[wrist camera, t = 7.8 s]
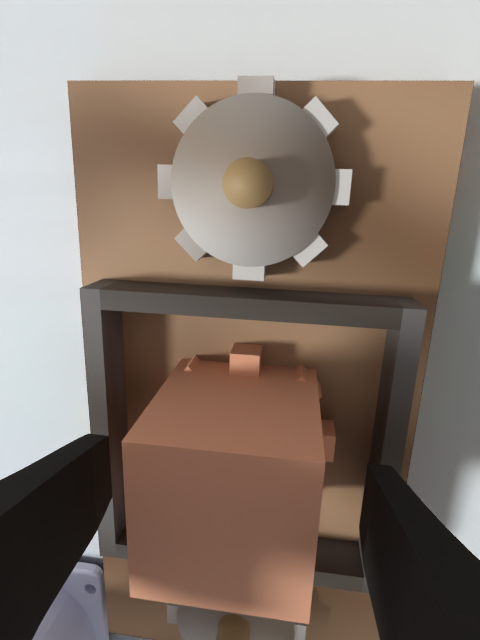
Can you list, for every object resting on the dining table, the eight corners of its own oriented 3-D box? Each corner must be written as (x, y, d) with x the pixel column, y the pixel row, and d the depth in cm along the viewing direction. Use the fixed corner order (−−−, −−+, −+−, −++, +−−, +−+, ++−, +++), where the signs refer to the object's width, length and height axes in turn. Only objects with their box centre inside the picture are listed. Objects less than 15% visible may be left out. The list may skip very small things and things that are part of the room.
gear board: (369, 645, 18) (383, 737, 15) (119, 606, 19) (85, 683, 16) (457, 92, 12) (511, 55, 9) (87, 90, 13) (24, 58, 10)
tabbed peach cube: (324, 505, 15) (336, 650, 10) (164, 486, 16) (104, 614, 11) (340, 350, 13) (364, 436, 8) (160, 337, 14) (88, 410, 9)
